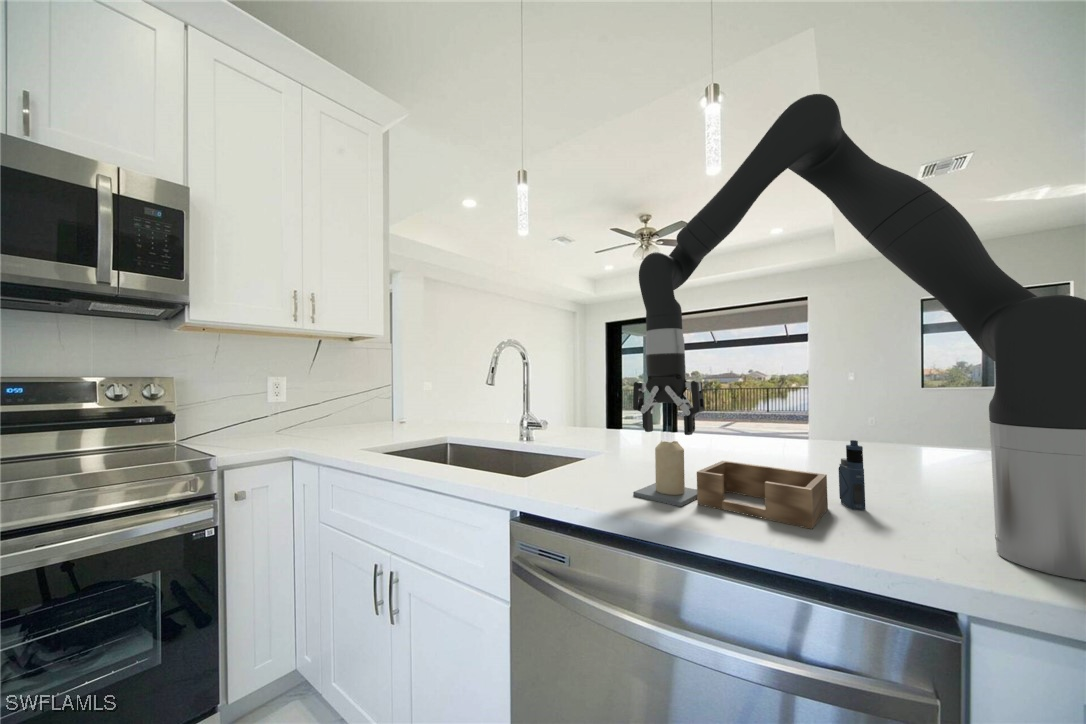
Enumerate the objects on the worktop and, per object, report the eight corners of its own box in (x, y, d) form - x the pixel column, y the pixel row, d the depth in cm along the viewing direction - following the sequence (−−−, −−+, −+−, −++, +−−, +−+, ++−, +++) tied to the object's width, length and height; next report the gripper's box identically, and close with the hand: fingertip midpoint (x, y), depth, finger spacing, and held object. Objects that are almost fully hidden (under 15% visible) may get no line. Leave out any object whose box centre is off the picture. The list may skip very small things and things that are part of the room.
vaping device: (851, 510, 70) (849, 441, 70) (837, 501, 75) (835, 437, 75) (869, 511, 69) (866, 442, 70) (853, 502, 74) (850, 437, 75)
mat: (703, 494, 80) (703, 490, 80) (681, 506, 73) (681, 502, 73) (657, 485, 87) (657, 482, 87) (633, 495, 80) (633, 491, 80)
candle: (681, 487, 82) (680, 439, 82) (687, 495, 77) (686, 443, 77) (653, 487, 83) (653, 438, 83) (658, 495, 77) (657, 443, 78)
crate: (827, 508, 71) (826, 474, 71) (812, 529, 62) (810, 489, 62) (723, 489, 84) (722, 460, 84) (697, 504, 74) (696, 471, 74)
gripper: (707, 351, 79) (711, 433, 78) (643, 355, 89) (645, 428, 88) (691, 349, 73) (694, 438, 73) (624, 354, 83) (627, 432, 83)
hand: (668, 433), depth 80 cm, fingers open, 8 cm apart
